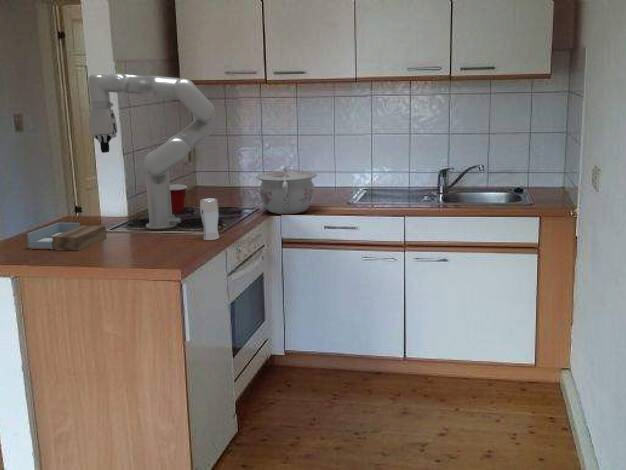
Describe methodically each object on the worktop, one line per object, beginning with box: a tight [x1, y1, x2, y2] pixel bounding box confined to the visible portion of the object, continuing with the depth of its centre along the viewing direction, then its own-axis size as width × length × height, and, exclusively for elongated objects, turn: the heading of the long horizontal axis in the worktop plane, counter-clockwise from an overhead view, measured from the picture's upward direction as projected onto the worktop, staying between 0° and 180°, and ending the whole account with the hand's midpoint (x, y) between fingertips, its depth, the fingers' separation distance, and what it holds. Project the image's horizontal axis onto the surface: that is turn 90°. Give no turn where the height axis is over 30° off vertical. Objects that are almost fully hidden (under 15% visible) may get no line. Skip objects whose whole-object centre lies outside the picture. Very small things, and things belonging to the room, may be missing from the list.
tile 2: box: [38, 238, 53, 242], centre depth 261 cm, size 5×5×2 cm
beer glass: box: [199, 197, 220, 241], centre depth 264 cm, size 7×7×15 cm
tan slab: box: [52, 225, 108, 251], centre depth 263 cm, size 10×20×5 cm, turn 166°
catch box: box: [26, 222, 81, 249], centre depth 265 cm, size 10×20×6 cm, turn 166°
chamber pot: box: [255, 166, 318, 216], centre depth 311 cm, size 28×28×21 cm
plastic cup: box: [170, 184, 188, 213], centre depth 323 cm, size 11×11×12 cm
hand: (105, 152), depth 281 cm, fingers closed
